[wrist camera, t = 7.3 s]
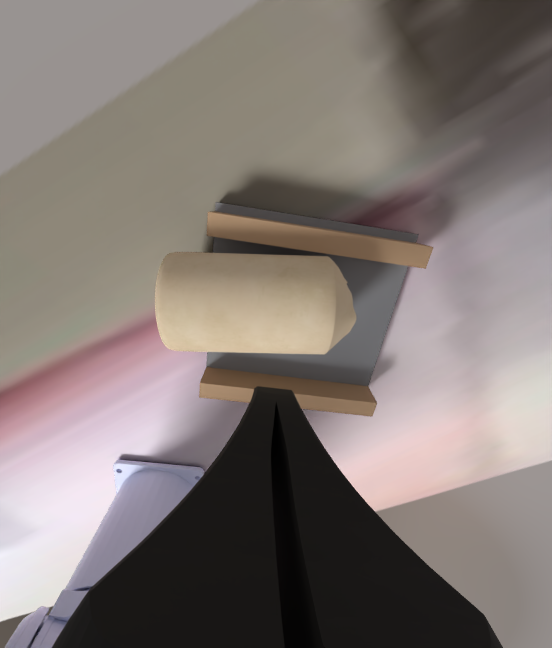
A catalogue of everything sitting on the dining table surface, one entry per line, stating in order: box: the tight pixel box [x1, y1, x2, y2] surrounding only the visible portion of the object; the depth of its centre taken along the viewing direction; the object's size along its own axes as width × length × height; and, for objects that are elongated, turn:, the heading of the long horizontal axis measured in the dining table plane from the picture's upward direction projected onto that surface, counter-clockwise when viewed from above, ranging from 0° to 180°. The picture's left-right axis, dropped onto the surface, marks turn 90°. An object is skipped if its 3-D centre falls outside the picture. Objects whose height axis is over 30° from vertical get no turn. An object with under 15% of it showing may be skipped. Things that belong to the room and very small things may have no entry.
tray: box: [199, 202, 433, 416], centre depth 18 cm, size 13×12×3 cm
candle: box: [155, 252, 356, 354], centre depth 16 cm, size 6×6×10 cm
